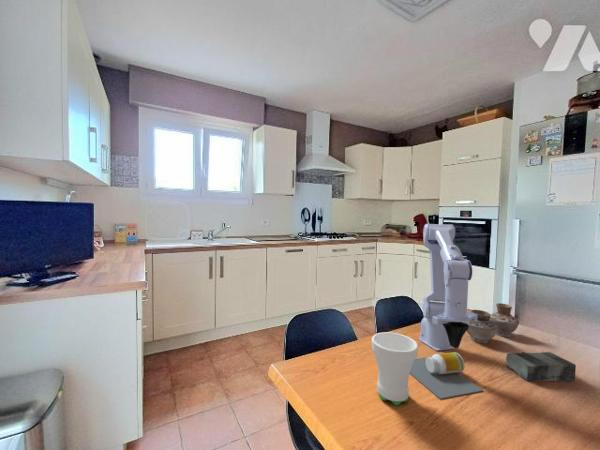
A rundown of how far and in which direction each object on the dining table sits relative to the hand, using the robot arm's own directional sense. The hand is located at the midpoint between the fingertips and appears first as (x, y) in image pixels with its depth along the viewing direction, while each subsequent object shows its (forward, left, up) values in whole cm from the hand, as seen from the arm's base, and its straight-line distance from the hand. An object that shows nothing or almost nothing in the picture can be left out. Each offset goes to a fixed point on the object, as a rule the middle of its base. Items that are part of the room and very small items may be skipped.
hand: (454, 346), depth 81 cm
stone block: (+6, +25, -9) cm, 27 cm away
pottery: (-17, +35, -8) cm, 40 cm away
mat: (0, -6, -8) cm, 10 cm away
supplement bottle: (0, +2, -5) cm, 5 cm away
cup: (+5, -24, -8) cm, 26 cm away
